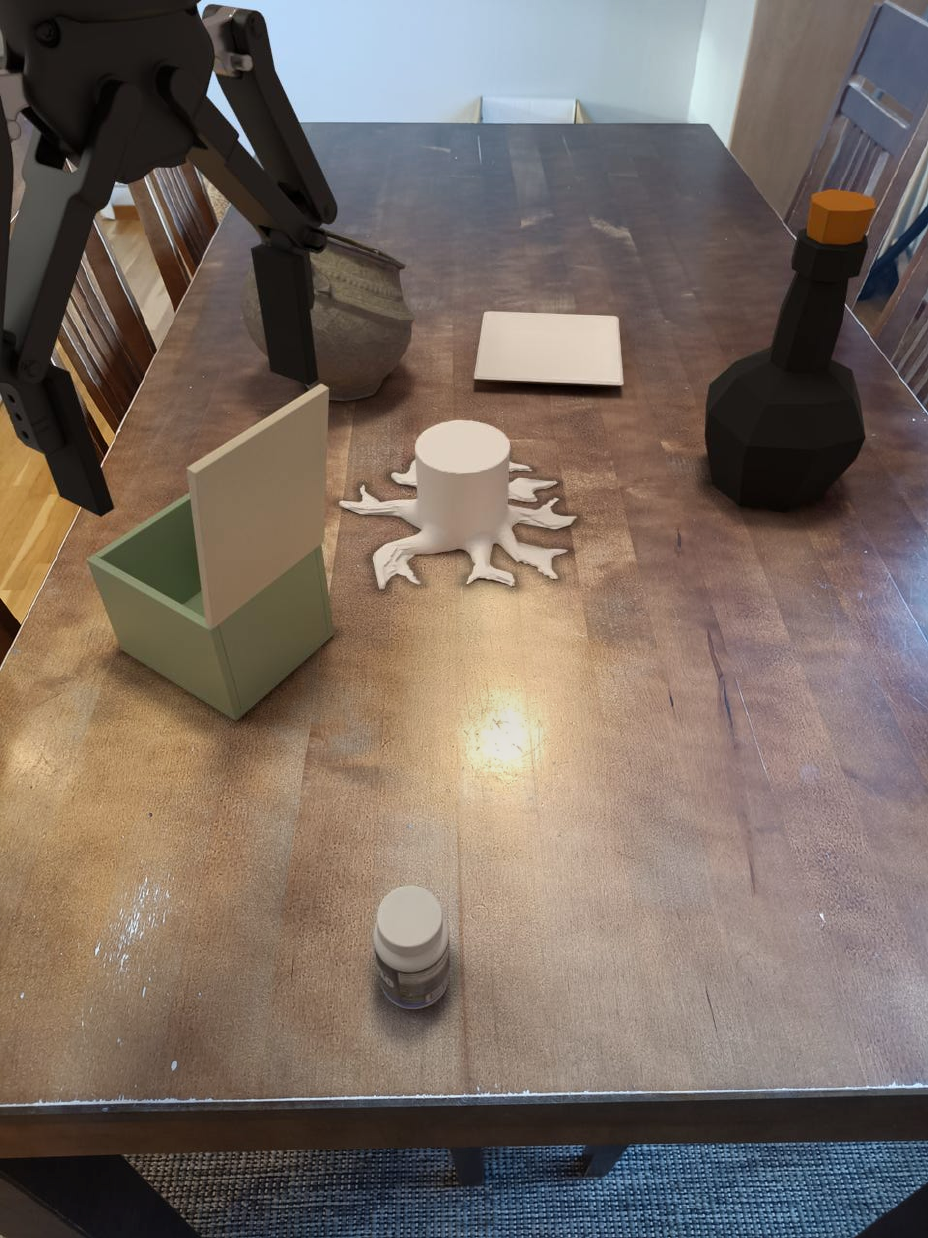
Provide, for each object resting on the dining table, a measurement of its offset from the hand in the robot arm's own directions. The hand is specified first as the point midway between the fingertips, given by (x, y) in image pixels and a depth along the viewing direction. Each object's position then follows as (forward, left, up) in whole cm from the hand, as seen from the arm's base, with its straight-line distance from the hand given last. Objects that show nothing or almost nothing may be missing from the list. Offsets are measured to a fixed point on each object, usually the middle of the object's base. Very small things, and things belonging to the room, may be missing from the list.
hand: (200, 433), depth 43 cm
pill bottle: (-4, -14, -35) cm, 38 cm away
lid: (+11, +10, -16) cm, 22 cm away
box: (+11, +19, -35) cm, 41 cm away
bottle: (+63, -12, -35) cm, 73 cm away
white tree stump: (+38, +12, -35) cm, 53 cm away
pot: (+52, +41, -35) cm, 75 cm away
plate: (+73, +22, -35) cm, 84 cm away
